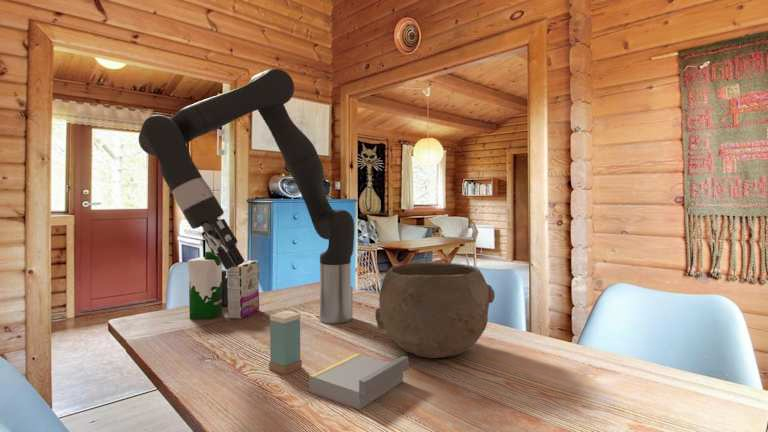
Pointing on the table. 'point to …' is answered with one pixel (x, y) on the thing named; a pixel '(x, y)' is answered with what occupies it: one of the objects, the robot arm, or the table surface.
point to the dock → (357, 379)
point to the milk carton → (205, 286)
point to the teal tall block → (285, 342)
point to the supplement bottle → (224, 289)
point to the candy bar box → (243, 289)
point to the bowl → (434, 307)
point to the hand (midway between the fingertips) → (235, 266)
